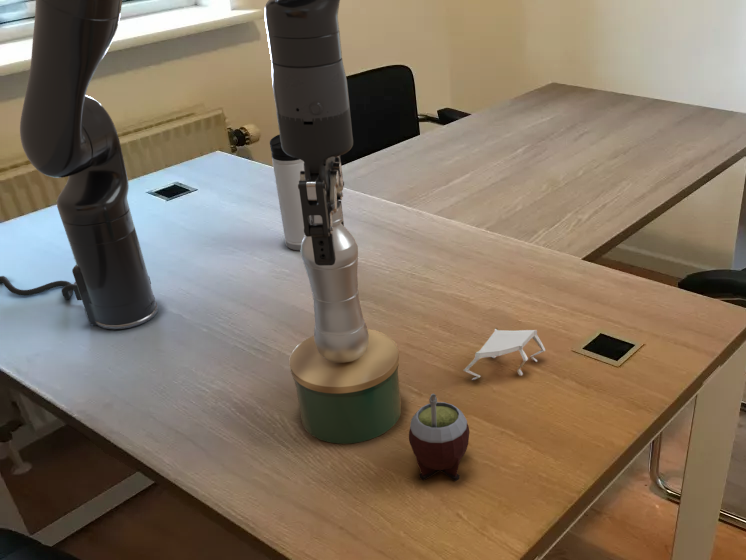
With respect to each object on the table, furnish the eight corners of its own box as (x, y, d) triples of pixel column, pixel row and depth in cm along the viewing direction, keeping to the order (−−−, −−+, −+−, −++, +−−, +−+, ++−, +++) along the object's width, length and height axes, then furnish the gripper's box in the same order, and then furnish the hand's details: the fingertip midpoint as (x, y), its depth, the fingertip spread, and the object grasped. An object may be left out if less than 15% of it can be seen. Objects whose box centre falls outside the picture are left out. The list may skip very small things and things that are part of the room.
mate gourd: (444, 441, 102) (439, 340, 93) (486, 471, 97) (485, 368, 88) (397, 467, 97) (387, 365, 89) (438, 501, 93) (432, 396, 84)
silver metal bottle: (360, 372, 98) (342, 219, 87) (308, 366, 99) (284, 214, 88) (377, 344, 103) (362, 196, 92) (327, 338, 104) (307, 192, 93)
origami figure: (502, 342, 121) (502, 314, 118) (547, 361, 116) (549, 332, 114) (449, 378, 113) (448, 348, 110) (496, 400, 109) (495, 370, 106)
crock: (291, 446, 101) (280, 388, 95) (307, 383, 112) (298, 328, 107) (400, 443, 101) (395, 385, 96) (405, 381, 112) (401, 326, 107)
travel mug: (328, 240, 149) (315, 133, 138) (303, 253, 145) (287, 144, 133) (304, 232, 152) (288, 127, 141) (278, 245, 148) (260, 137, 136)
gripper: (287, 85, 89) (306, 222, 98) (262, 126, 77) (287, 276, 87) (355, 85, 89) (368, 221, 99) (341, 126, 78) (357, 275, 87)
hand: (330, 247), depth 93 cm, fingers open, 8 cm apart
